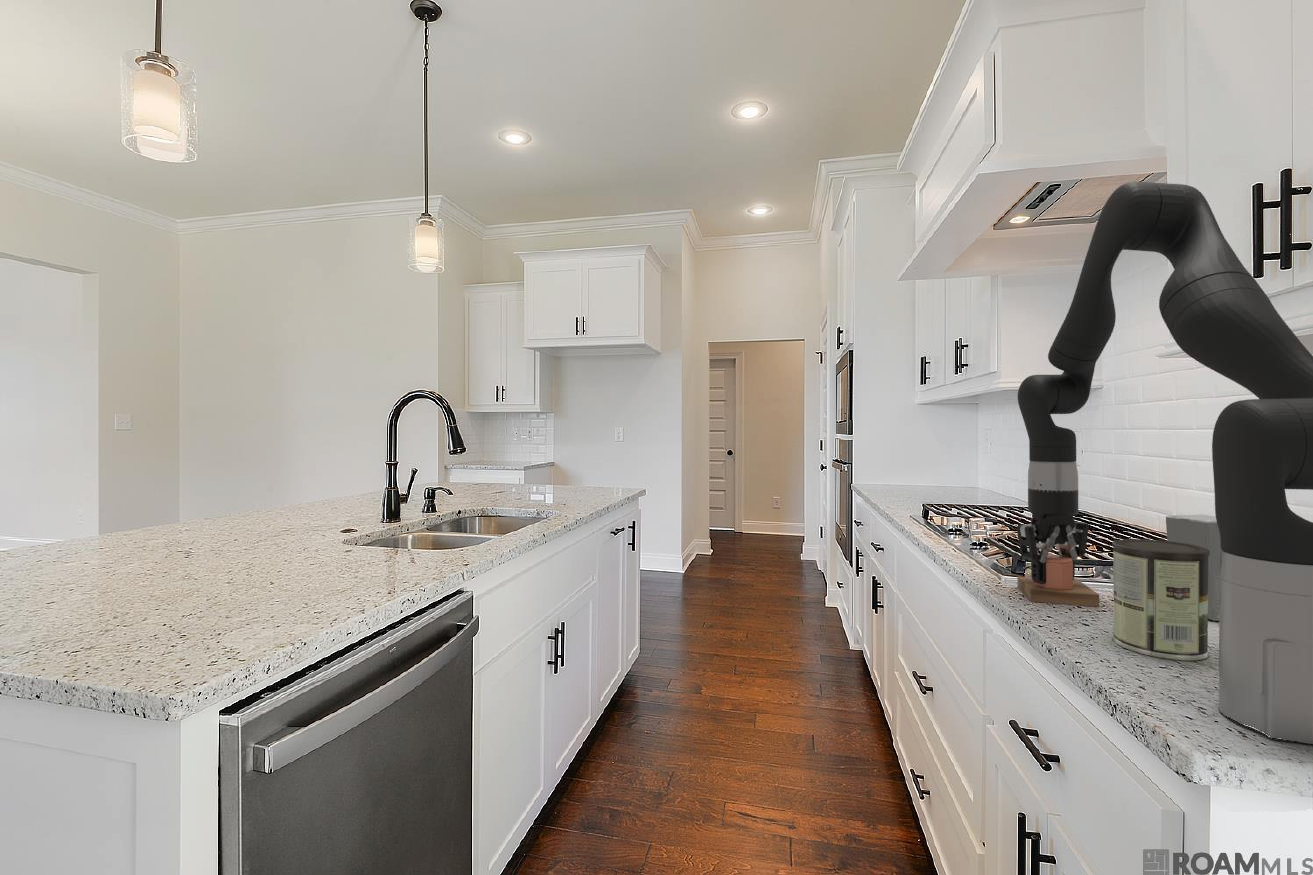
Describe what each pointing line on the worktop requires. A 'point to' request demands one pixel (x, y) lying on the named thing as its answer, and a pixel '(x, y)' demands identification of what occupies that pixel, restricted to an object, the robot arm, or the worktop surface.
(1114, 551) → the coffee can
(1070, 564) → the cap
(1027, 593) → the peg block
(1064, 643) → the worktop surface
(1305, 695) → the robot arm
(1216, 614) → the skincare box
